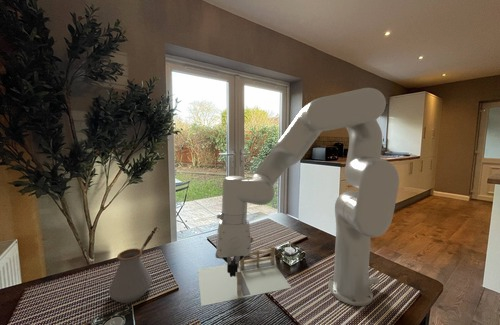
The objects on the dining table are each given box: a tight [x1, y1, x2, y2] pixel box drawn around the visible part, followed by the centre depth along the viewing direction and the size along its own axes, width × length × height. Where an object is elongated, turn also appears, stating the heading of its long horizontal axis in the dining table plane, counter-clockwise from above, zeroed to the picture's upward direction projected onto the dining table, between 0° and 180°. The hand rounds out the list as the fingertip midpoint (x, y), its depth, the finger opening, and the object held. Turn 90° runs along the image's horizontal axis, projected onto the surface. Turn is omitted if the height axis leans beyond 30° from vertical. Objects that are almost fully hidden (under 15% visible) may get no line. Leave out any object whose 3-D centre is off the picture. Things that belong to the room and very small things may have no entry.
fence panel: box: [236, 262, 241, 295], centre depth 71 cm, size 14×1×6 cm, turn 7°
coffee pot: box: [108, 226, 161, 304], centre depth 70 cm, size 21×12×15 cm, turn 174°
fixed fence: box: [239, 245, 276, 270], centre depth 79 cm, size 13×1×7 cm, turn 107°
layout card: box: [197, 260, 292, 307], centre depth 73 cm, size 28×18×1 cm, turn 107°
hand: (232, 274), depth 67 cm, fingers closed
